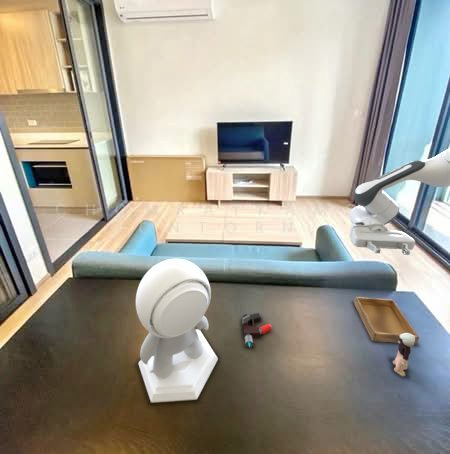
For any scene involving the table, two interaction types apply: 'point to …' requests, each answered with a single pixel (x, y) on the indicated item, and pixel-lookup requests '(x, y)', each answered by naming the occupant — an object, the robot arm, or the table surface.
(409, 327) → the shallow wooden tray
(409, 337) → the grandmother figurine
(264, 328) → the toy gun
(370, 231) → the robot arm
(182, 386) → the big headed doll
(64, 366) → the table surface
